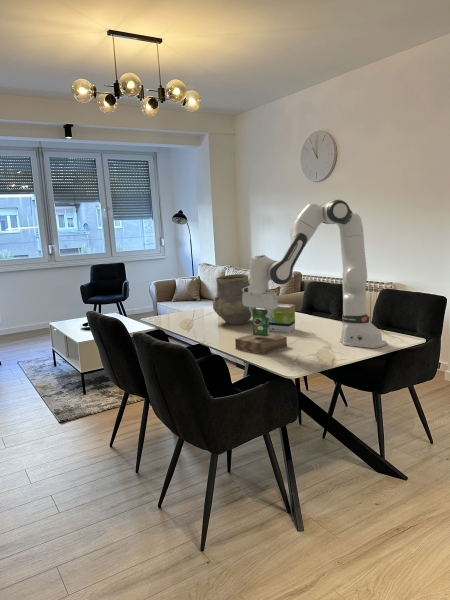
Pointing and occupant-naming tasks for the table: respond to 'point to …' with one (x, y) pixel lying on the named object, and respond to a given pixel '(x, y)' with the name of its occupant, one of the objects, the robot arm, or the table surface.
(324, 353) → the table surface
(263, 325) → the coffee box
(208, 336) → the table surface
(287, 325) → the tea box
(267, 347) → the block
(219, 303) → the ceramic pot
